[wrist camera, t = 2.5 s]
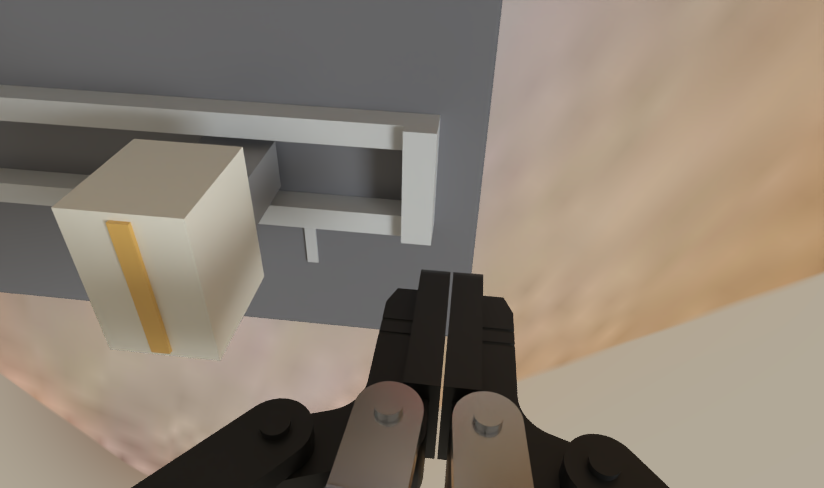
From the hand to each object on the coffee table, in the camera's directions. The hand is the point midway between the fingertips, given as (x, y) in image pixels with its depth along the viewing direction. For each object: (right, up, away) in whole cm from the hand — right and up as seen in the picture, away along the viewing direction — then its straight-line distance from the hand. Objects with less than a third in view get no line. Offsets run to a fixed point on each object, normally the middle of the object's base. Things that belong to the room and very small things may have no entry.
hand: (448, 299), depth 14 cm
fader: (-7, +4, +5) cm, 9 cm away
